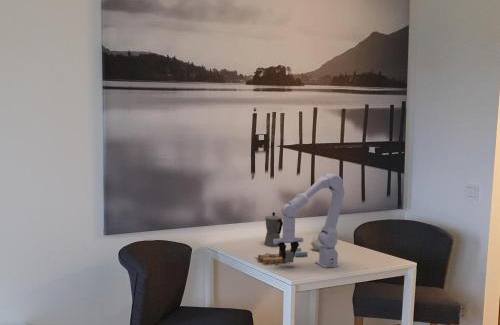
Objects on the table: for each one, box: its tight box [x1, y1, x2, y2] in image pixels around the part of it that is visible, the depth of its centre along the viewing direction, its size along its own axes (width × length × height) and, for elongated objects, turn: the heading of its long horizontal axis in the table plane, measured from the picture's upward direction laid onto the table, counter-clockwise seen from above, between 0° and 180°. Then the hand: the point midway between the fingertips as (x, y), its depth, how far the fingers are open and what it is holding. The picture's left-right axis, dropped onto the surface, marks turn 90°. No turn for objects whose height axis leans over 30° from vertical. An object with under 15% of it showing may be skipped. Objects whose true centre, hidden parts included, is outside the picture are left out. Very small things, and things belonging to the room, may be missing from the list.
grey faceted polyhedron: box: [310, 234, 320, 252], centre depth 303 cm, size 8×9×10 cm
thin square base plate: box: [254, 256, 291, 266], centre depth 278 cm, size 14×13×1 cm
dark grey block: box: [282, 249, 295, 264], centre depth 269 cm, size 4×4×5 cm
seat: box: [289, 247, 309, 258], centre depth 292 cm, size 9×6×2 cm, turn 19°
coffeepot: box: [264, 212, 283, 248], centre depth 310 cm, size 15×9×18 cm, turn 29°
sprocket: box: [257, 247, 284, 264], centre depth 278 cm, size 14×14×6 cm
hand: (287, 257), depth 269 cm, fingers closed on dark grey block, 4 cm apart
